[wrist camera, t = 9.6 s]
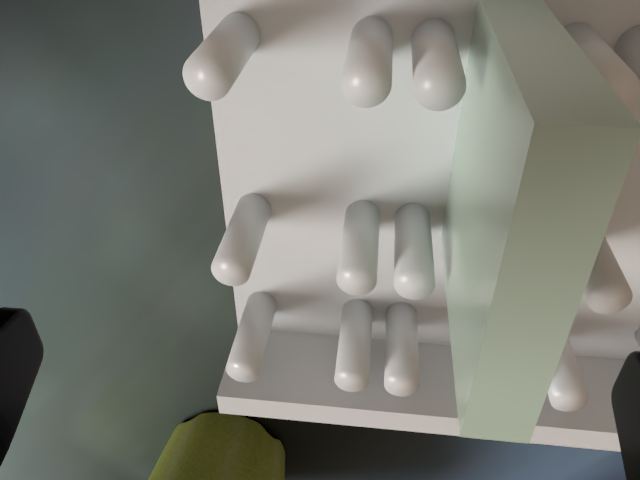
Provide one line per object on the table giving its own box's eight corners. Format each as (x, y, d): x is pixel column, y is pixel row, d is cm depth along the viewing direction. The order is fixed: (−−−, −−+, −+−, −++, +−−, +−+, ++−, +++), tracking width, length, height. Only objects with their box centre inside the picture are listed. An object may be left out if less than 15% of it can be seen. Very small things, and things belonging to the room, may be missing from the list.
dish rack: (245, 327, 25) (219, 413, 21) (178, -289, 13) (94, -330, 10) (650, 361, 24) (696, 458, 20) (984, -305, 12) (1243, -360, 8)
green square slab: (440, 238, 20) (459, 436, 14) (477, -5, 15) (535, 123, 9) (487, 241, 20) (529, 443, 13) (540, -4, 15) (643, 127, 9)
